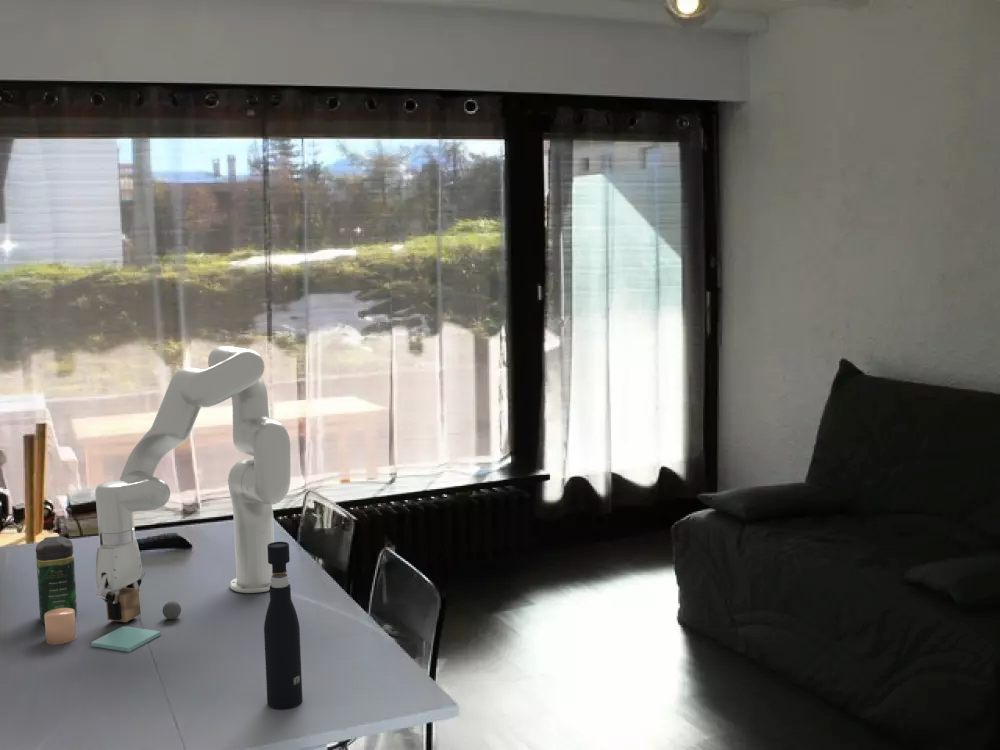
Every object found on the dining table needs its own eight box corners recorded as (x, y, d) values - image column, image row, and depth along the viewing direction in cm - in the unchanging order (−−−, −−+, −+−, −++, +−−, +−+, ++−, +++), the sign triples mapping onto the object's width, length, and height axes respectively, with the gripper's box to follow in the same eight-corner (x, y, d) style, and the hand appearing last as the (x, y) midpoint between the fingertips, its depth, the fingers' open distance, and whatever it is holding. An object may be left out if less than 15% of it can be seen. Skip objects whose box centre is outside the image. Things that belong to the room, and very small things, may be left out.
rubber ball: (170, 614, 242) (169, 598, 241) (185, 616, 240) (184, 599, 240) (159, 620, 238) (158, 603, 238) (173, 622, 237) (172, 605, 236)
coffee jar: (78, 622, 238) (72, 542, 235) (40, 627, 235) (34, 546, 232) (77, 608, 247) (72, 531, 244) (40, 614, 244) (34, 535, 241)
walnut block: (123, 612, 242) (120, 586, 241) (140, 614, 240) (138, 588, 239) (107, 619, 237) (105, 594, 236) (125, 622, 235) (123, 596, 234)
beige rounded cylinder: (60, 632, 232) (58, 606, 231) (82, 636, 230) (80, 609, 229) (39, 642, 226) (37, 615, 225) (61, 646, 224) (60, 619, 223)
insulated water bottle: (269, 695, 198) (262, 540, 194) (304, 693, 199) (297, 538, 195) (265, 710, 192) (257, 550, 188) (300, 708, 192) (294, 548, 188)
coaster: (123, 629, 233) (123, 626, 233) (160, 634, 229) (160, 631, 229) (91, 645, 224) (90, 642, 224) (129, 651, 220) (129, 648, 220)
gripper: (129, 525, 245) (136, 600, 248) (76, 546, 229) (83, 626, 232) (156, 527, 242) (162, 603, 245) (103, 549, 227) (111, 630, 229)
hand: (124, 613), depth 238 cm, fingers closed on walnut block, 5 cm apart
